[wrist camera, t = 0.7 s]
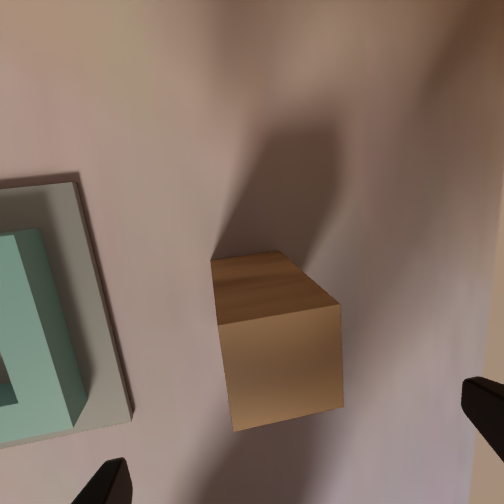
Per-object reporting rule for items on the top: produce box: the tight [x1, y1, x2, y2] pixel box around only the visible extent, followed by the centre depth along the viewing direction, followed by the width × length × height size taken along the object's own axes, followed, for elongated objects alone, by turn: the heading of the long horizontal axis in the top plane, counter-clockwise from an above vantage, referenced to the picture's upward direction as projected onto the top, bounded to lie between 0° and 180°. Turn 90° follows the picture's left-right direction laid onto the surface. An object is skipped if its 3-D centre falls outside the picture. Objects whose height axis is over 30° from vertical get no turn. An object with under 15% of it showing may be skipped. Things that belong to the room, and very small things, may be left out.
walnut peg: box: [210, 250, 344, 432], centre depth 14 cm, size 4×4×8 cm
